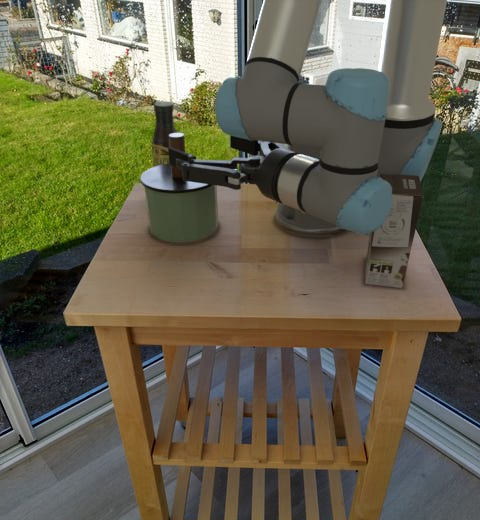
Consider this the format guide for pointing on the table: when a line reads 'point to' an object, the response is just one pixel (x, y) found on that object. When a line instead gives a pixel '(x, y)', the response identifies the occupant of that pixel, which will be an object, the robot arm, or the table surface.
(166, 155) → the sauce bottle
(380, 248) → the coffee box
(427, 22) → the robot arm
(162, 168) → the lid
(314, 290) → the table surface
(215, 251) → the table surface
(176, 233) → the pot
